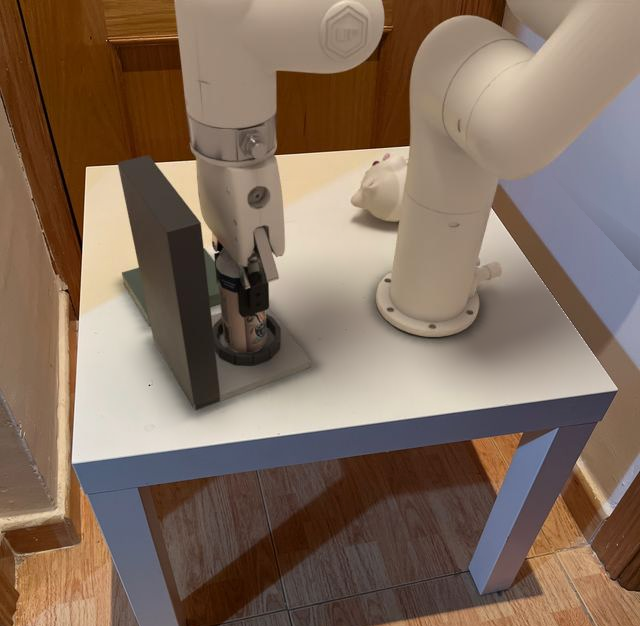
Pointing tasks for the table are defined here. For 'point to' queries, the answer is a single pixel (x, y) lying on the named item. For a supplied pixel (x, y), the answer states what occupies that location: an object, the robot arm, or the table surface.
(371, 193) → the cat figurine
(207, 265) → the dark green flat block
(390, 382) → the table surface
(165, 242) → the l-shaped can stand
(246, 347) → the beer can
